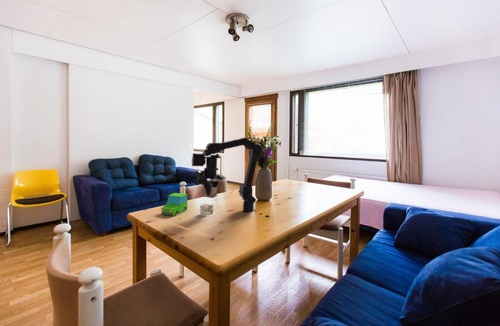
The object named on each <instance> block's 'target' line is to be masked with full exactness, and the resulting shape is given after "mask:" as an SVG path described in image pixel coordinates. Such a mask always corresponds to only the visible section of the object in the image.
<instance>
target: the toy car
mask: <svg viewBox="0 0 500 326" xmlns="http://www.w3.org/2000/svg"><path fill="white" fill-rule="evenodd" d="M160 208H161V209H160V211H161V213H160V214H161V215H165V216H173V217H174V216H175V217H176V216H178V215H179V214H181V213H183V212H186V211H187V210H188V194H187V193H180V192H173V193H170V194H169V195H168V197H167V202H165V205H163V206H162V207H160Z"/></svg>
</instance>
